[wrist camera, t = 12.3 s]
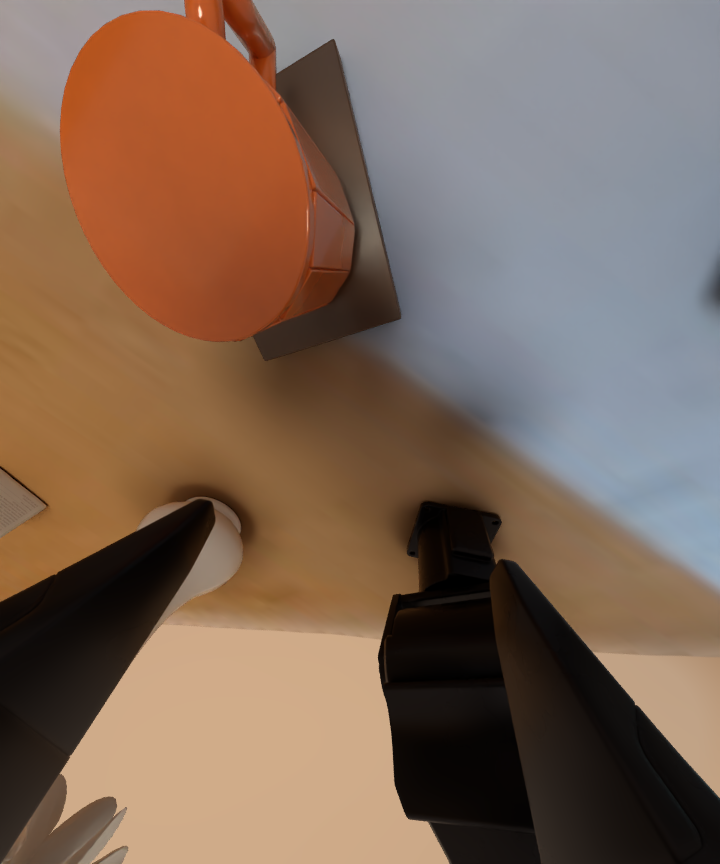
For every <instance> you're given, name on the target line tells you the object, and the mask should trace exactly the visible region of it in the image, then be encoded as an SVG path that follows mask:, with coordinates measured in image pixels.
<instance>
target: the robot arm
mask: <svg viewBox="0 0 720 864" xmlns="http://www.w3.org/2000/svg"><path fill="white" fill-rule="evenodd" d="M426 507H428V508H426ZM215 521H216V517H215V512H214V506H213V503H212V501H210V500H206V499H196V500H194V501H192V502H190V503H189V504H187V505H185V506H183V507H181V508H179V509H177V510H175V511H173V512H171V513H170V514H168V515H166V516H164V517H162V518H160V519H158V520H156V521H154V522H153V523H151V524H149V525H147V526H145V527H143V528H141V529H139V530H137V531H135V532H134V533H132V534H130V535H128V536H126V537H124V538H122V539H120V540H118V541H117V542H115V543H113V544H111V545H109V546H107V547H105V548H103V549H101V550H99V551H98V552H96V553H94V554H92V555H90V556H88V557H86V558H84V559H82V560H80V561H79V562H77V563H75V564H73V565H71V566H69V567H67V568H65V569H63V570H62V571H60V572H58V573H57V574H56V575H52V576H50V577H48V578H46V579H44V580H42V581H40V582H39V583H37V584H35V585H33V586H31V587H29V588H27V589H25V590H23V591H21V592H19V593H17V594H15V595H13V596H11V597H9V598H7V599H5V600H3V601H1V602H0V864H1V863H2V861H3V860H4V858H5V857H6V855H7V854H8V852H9V851H10V849H11V848H12V846H13V845H14V843H15V841H16V840H17V838H18V837H19V835H20V834H21V832H22V831H23V829H24V828H25V826H26V825H27V823H28V821H29V820H30V818H31V817H32V815H33V814H34V812H35V811H36V809H37V808H38V806H39V805H40V803H41V801H42V800H43V798H44V797H45V795H46V794H47V792H48V791H49V789H50V788H51V786H52V785H53V783H54V781H55V780H56V778H57V777H58V775H59V774H60V772H61V771H62V769H63V767H64V766H65V764H66V763H67V761H68V760H69V758H70V755H72V753H73V752H74V750H75V749H76V747H77V745H78V744H79V743H80V741H81V739H82V738H83V736H84V735H85V733H86V732H87V730H88V729H89V727H90V726H91V724H92V722H93V721H94V719H95V718H96V716H97V715H98V713H99V712H100V710H101V708H102V707H103V706H104V704H105V702H106V701H107V699H108V698H109V696H110V694H111V693H112V692H113V690H114V689H115V687H116V686H117V684H118V682H119V681H120V679H121V678H122V676H123V674H124V673H125V671H126V670H127V669H128V667H129V665H130V664H131V662H132V661H133V659H134V658H135V656H136V655H137V653H138V652H139V650H140V649H141V647H142V646H143V644H144V642H145V641H146V639H147V638H148V636H149V635H150V633H151V632H152V630H153V629H154V627H155V625H156V624H157V622H158V621H159V619H160V618H161V616H162V615H163V613H164V612H165V610H166V609H167V607H168V605H169V604H170V602H171V601H172V599H173V598H174V596H175V595H176V593H177V592H178V590H179V589H180V587H181V585H182V584H183V582H184V581H185V579H186V578H187V576H188V574H189V573H190V571H191V569H192V568H193V566H194V564H195V562H196V560H197V558H198V556H199V554H200V552H201V550H202V548H203V547H204V545H205V543H206V541H207V539H208V537H209V535H210V533H211V531H212V529H213V527H214V525H215ZM501 523H502V522H501V519H500V517H499V516H498V515H494V514H489V513H484V512H479V511H474V510H468V509H463V508H458V507H453V506H447V505H442V504H437V503H432V502H423V503H421V505H420V508H419V512H418V515H417V518H416V521H415V524H414V528H413V531H412V534H411V537H410V540H409V544H408V547H407V554H408V555H409V556H411V557H416V558H418V569H419V592H418V593H411V594H405V595H401V594H396V595H393V597H392V601H391V605H390V609H389V613H388V617H387V621H386V625H385V629H384V633H383V636H382V640H381V645H380V649H379V653H378V661H379V673H380V679H381V684H382V689H383V692H384V696H385V699H386V702H387V707H388V712H389V718H390V726H391V735H392V746H393V765H394V782H395V787H396V790H397V793H398V796H399V799H400V801H401V804H402V807H403V809H404V812H405V814H406V816H407V818H408V819H410V820H419V821H427V822H428V823H429V824H430V827H431V828H432V830H433V832H434V834H435V836H436V838H437V840H438V842H439V843H440V845H441V847H442V849H443V851H444V853H445V855H446V857H447V859H448V860H449V863H450V864H720V798H719V797H718V796H717V795H716V794H715V793H714V791H713V790H712V789H711V788H710V787H709V786H708V785H707V784H706V783H705V781H703V779H702V778H701V777H700V776H699V775H698V774H697V773H696V772H695V771H694V770H693V768H692V767H691V766H690V765H689V764H688V763H687V762H686V761H685V760H684V759H683V757H682V756H681V755H680V754H679V753H678V752H677V751H676V749H675V748H674V747H673V746H672V745H671V744H670V742H669V741H668V740H667V739H666V738H665V737H664V736H663V735H662V733H661V732H660V731H659V730H658V729H657V728H656V726H655V725H654V724H653V723H652V722H651V720H650V719H649V718H648V717H647V716H646V715H645V713H644V712H643V711H642V710H641V709H640V708H639V707H638V706H637V705H635V702H634V701H633V699H632V698H631V697H630V696H629V695H628V694H627V693H626V691H625V690H624V689H623V688H622V687H621V685H620V684H619V683H618V682H617V681H616V680H615V679H614V677H613V676H612V675H611V674H610V672H609V671H608V670H607V669H606V668H605V667H604V665H603V664H602V663H601V662H600V661H599V660H598V658H597V657H596V656H595V655H594V654H593V652H592V651H591V650H590V649H589V648H588V647H587V645H586V644H585V643H584V642H583V641H582V639H581V638H580V637H579V636H578V635H577V634H576V632H575V631H574V630H573V629H572V628H571V627H570V625H569V624H568V623H567V622H566V621H565V619H564V618H563V617H562V616H561V615H560V614H559V612H558V611H557V610H556V609H555V608H554V607H553V605H552V604H551V603H550V602H549V601H548V599H547V598H546V597H545V596H544V595H543V594H542V592H541V591H540V590H539V589H538V588H537V587H536V585H535V584H534V583H533V582H532V581H531V579H530V578H529V577H528V576H527V575H526V574H525V572H524V571H523V570H522V569H521V568H520V567H519V565H518V564H517V563H515V562H514V561H510V560H505V559H501V560H499V561H498V563H497V565H496V562H495V559H494V553H493V550H492V547H491V543H492V541H493V539H494V537H495V535H496V533H497V531H498V529H499V528H500V526H501Z"/></svg>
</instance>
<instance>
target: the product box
mask: <svg viewBox="0 0 720 864" xmlns="http://www.w3.org/2000/svg"><path fill="white" fill-rule="evenodd" d="M46 507H47V506H46V505H45V504H44V503H43V502H42V501H41V500H39V499H38V498H37V497H36V496H34V495H33V494H32V493H31V492H29V491H28V490H27V489H25V488H24V487H23V486H21V485H20V484H19V483H18V482H16V481H15V480H14V479H13V478H12V477H10V476H9V475H8V474H7V473H6V472H4V471H3V470H2V469H0V538H1V537H3V536H4V535H6V534H7V533H9V532H10V531H12V530H13V529H15V528H16V527H18V526H19V525H21V524H22V523H24V522H25V521H27V520H28V519H30V518H31V517H33V516H34V515H36V514H37V513H39V512H40V511H42V510H43V509H45V508H46Z"/></svg>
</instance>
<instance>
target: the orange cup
mask: <svg viewBox="0 0 720 864" xmlns="http://www.w3.org/2000/svg"><path fill="white" fill-rule="evenodd" d="M184 4H185V14H186V17H184V16H182V15H178V14H174V13H169V12H164V11H137V12H133V13H129V14H125V15H121V16H119V17H117V18H116V19H114V20H112V21H110V22H108V23H106V24H105V25H103V26H102V27H101V28H100V29H99V30H98V31H96V32H95V33H94V34H93V35H92V36H91V37H90V38H89V40H88V41H87V42H86V44H85V45H84V46H83V48H82V49H81V50H80V52H79V54H78V56H77V58H76V60H75V62H74V64H73V66H72V68H71V70H70V73H69V76H68V80H67V83H66V86H65V90H64V95H63V101H62V107H61V120H60V141H61V155H62V162H63V169H64V174H65V179H66V183H67V187H68V191H69V195H70V198H71V201H72V204H73V207H74V210H75V213H76V216H77V218H78V220H79V223H80V225H81V227H82V230H83V232H84V234H85V236H86V238H87V240H88V242H89V244H90V246H91V248H92V250H93V251H94V253H95V254H96V256H97V258H98V259H99V261H100V262H101V264H102V266H103V267H104V269H105V270H106V271H107V273H108V274H109V275H110V277H111V278H112V279H113V281H114V282H115V283H116V284H117V285H118V287H119V288H120V289H121V290H122V291H123V292H124V293H125V295H126V296H127V297H129V298H130V299H131V300H132V301H133V302H134V303H135V304H136V305H137V306H138V307H139V308H140V309H142V310H143V311H144V312H145V313H147V314H148V315H149V316H150V317H152V318H153V319H155V320H156V321H158V322H159V323H161V324H162V325H164V326H166V327H168V328H170V329H172V330H174V331H176V332H178V333H181V334H183V335H186V336H189V337H192V338H196V339H200V340H204V341H214V342H225V341H235V342H236V341H242V340H244V339H247V338H250V337H252V336H255V335H257V334H260V333H262V332H265V331H267V330H270V329H272V328H275V327H277V326H280V325H282V324H285V323H288V322H290V321H293V320H295V319H298V318H300V317H302V316H305V315H307V314H309V313H311V312H313V311H316V310H318V309H320V308H322V307H324V306H327V305H328V304H329V303H330V302H331V301H332V299H333V298H334V296H335V295H336V293H337V292H338V290H339V289H340V287H341V285H342V284H343V282H344V281H345V279H346V278H347V276H348V275H349V273H350V272H349V271H350V270H351V262H352V252H353V243H354V233H355V227H354V226H353V225H354V220H353V217H352V214H351V211H350V208H349V205H348V202H347V200H346V197H345V194H344V191H343V188H342V185H341V182H340V179H339V178H338V176H337V174H336V173H335V172H334V170H333V169H332V167H331V166H330V164H329V163H328V162H327V160H326V159H325V157H324V156H323V155H322V153H321V152H320V150H319V149H318V148H317V146H316V145H315V143H314V142H313V141H312V139H311V138H310V136H309V135H308V133H307V132H306V131H305V129H304V128H303V126H302V125H301V124H300V122H299V121H298V119H297V118H296V117H295V115H294V114H293V112H292V111H291V110H290V108H289V107H288V105H287V104H286V102H285V101H284V100H283V98H282V97H281V95H280V94H279V93H277V92H276V46H275V42H274V39H273V37H272V35H271V33H270V31H269V29H268V28H267V26H266V24H265V22H264V21H263V19H262V17H261V15H260V14H259V12H258V10H257V8H256V6H255V5H254V3H253V1H252V0H184ZM224 20H225V21H226V22H227V24H228V25H229V27H230V28H231V29H232V31H233V32H234V34H235V35H236V36H237V38H238V39H239V41H240V42H241V43H242V45H243V46H244V48H245V49H246V50H247V52H248V53H249V62H248V61H247V59H246V58H245V57H244V56H243V55H242V54H241V53H240V52H239V51H238V50H237V49H236V48H234V47H233V46H232V45H231V44H230V43H229V42H227V41H226V38H225V22H224Z"/></svg>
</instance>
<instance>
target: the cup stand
mask: <svg viewBox="0 0 720 864" xmlns="http://www.w3.org/2000/svg"><path fill="white" fill-rule="evenodd" d="M276 92H277V93H279V94H280V95H281V97H282V98H283V100H284V101H285V102H286V104H287V105H288V107H289V108H290V110H291V111H292V112H293V114H294V115H295V117H296V118H297V119H298V121H299V122H300V124H301V125H302V126H303V128H304V129H305V131H306V132H307V133H308V135H309V136H310V138H311V139H312V141H313V142H314V143H315V145H316V146H317V148H318V149H319V150H320V152H321V153H322V155H323V156H324V157H325V159H326V160H327V162H328V163H329V164H330V166H331V167H332V169H333V170H334V172H335V173H336V174H337V176H338V178H339V179H340V182H341V185H342V188H343V191H344V194H345V197H346V200H347V202H348V205H349V208H350V211H351V214H352V217H353V220H354V225H353V226H354V227H355V233H354V243H353V252H352V262H351V270H350V271H349V272H350V273H349V275H348V276H347V278H346V279H345V281H344V282H343V284H342V285H341V287H340V289H339V290H338V292H337V293H336V295H335V296H334V298H333V299H332V301H331V302H330V303H329V304H328V305H327V306H324V307H322V308H320V309H318V310H316V311H313V312H311V313H309V314H307V315H305V316H302V317H300V318H298V319H295V320H293V321H290V322H288V323H285V324H282V325H280V326H277V327H275V328H272V329H270V330H267V331H265V332H262V333H260V334H257V335H255V336H253V337H254V339H255V341H256V343H257V345H258V348H259V350H260V352H261V354H262V356H263V358H264V360H265V361H268V360H271V359H274V358H278V357H281V356H284V355H287V354H290V353H294V352H297V351H300V350H303V349H306V348H309V347H313V346H316V345H319V344H322V343H325V342H329V341H332V340H335V339H338V338H341V337H345V336H348V335H351V334H354V333H357V332H360V331H364V330H367V329H370V328H373V327H376V326H380V325H383V324H386V323H389V322H392V321H396V320H399V319H401V311H400V307H399V302H398V298H397V294H396V290H395V286H394V281H393V277H392V273H391V269H390V265H389V260H388V256H387V252H386V248H385V244H384V239H383V235H382V231H381V227H380V222H379V218H378V214H377V210H376V206H375V201H374V197H373V193H372V189H371V185H370V180H369V176H368V172H367V168H366V164H365V159H364V155H363V151H362V147H361V143H360V138H359V134H358V130H357V126H356V121H355V117H354V113H353V109H352V105H351V100H350V96H349V92H348V88H347V84H346V79H345V75H344V71H343V67H342V63H341V58H340V55H339V52H338V49H337V46H336V42H335V40H334V39H332V40H330V41H329V42H327V43H326V44H324V45H322V46H321V47H319V48H317V49H316V50H314V51H313V52H311V53H309V54H308V55H306V56H305V57H303V58H301V59H300V60H298V61H296V62H295V63H293V64H292V65H290V66H288V67H287V68H285V69H284V70H282V71H280V72H279V73H277V74H276Z"/></svg>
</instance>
